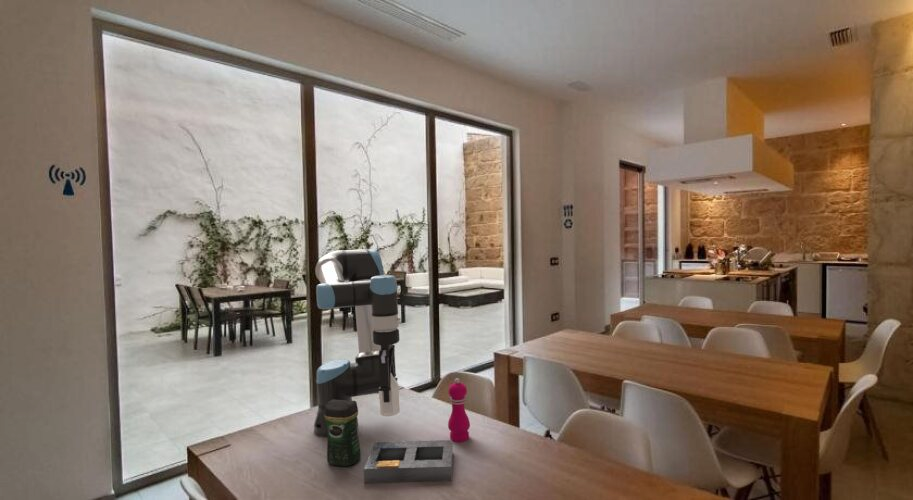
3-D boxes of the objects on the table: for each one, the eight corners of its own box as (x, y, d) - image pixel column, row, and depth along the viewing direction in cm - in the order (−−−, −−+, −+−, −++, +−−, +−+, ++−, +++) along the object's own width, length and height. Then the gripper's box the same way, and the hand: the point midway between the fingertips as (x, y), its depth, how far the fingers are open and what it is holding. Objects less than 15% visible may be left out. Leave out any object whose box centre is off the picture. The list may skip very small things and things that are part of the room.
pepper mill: (468, 443, 150) (465, 382, 149) (446, 442, 151) (443, 381, 150) (472, 433, 157) (469, 375, 156) (451, 432, 158) (448, 374, 157)
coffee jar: (364, 456, 144) (361, 397, 143) (351, 469, 136) (348, 407, 135) (337, 453, 147) (334, 395, 146) (322, 465, 139) (319, 404, 138)
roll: (388, 376, 131) (373, 373, 134) (391, 417, 131) (375, 414, 134) (401, 369, 136) (386, 367, 139) (403, 410, 137) (388, 407, 139)
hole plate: (375, 455, 144) (374, 441, 144) (452, 452, 144) (452, 438, 144) (364, 483, 128) (363, 467, 128) (451, 480, 128) (450, 465, 128)
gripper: (393, 336, 125) (397, 420, 126) (403, 322, 144) (406, 395, 145) (366, 337, 125) (370, 421, 126) (378, 323, 144) (382, 396, 145)
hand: (389, 407), depth 135 cm, fingers closed on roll, 6 cm apart
